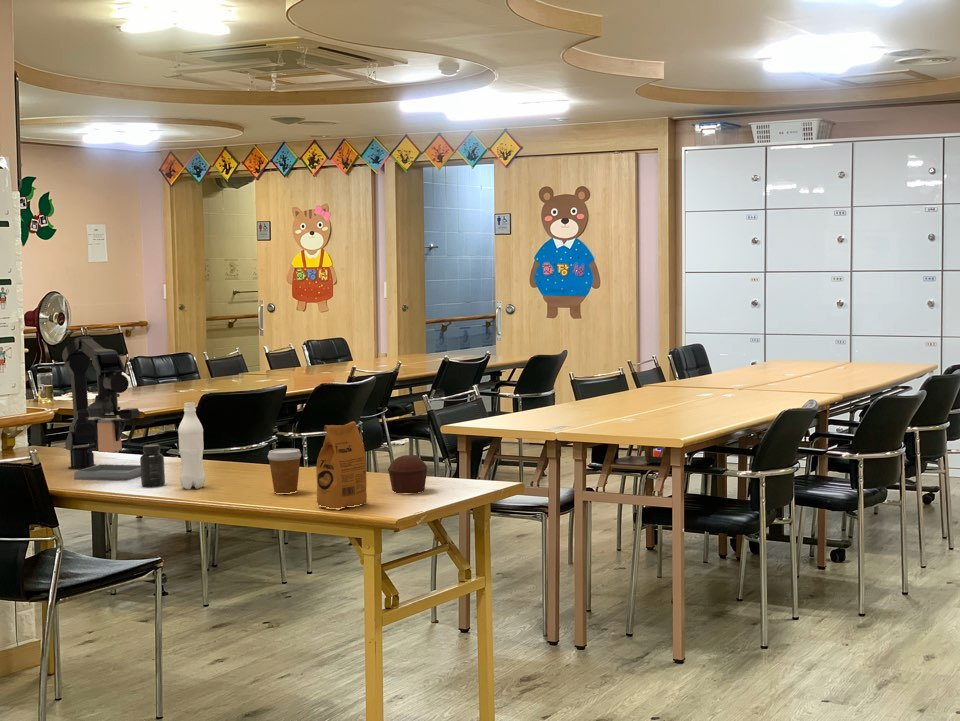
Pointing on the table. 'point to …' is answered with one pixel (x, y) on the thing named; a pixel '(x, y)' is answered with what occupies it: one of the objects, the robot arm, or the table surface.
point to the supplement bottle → (152, 467)
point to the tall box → (107, 436)
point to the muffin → (407, 474)
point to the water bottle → (191, 448)
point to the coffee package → (341, 468)
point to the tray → (109, 472)
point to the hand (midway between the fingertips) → (109, 441)
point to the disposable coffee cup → (284, 469)
